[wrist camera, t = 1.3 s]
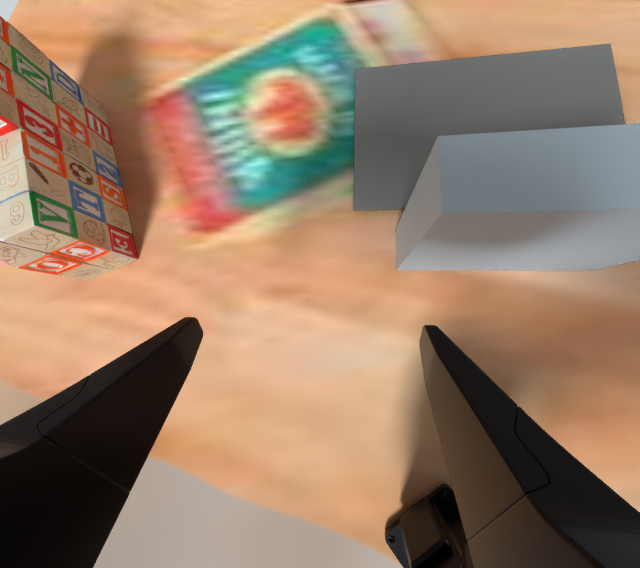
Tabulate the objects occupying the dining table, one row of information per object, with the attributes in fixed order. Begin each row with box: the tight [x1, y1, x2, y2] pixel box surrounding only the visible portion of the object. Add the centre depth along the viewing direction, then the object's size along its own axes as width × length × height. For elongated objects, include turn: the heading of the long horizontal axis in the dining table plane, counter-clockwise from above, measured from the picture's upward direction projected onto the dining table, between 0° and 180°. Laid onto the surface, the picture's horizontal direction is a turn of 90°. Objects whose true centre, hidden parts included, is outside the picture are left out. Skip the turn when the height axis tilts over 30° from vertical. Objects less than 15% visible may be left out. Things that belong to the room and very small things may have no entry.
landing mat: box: [354, 44, 625, 211], centre depth 24 cm, size 16×24×1 cm, turn 88°
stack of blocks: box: [0, 17, 138, 280], centre depth 23 cm, size 21×6×12 cm, turn 21°
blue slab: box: [396, 123, 640, 271], centre depth 17 cm, size 4×16×12 cm, turn 88°
